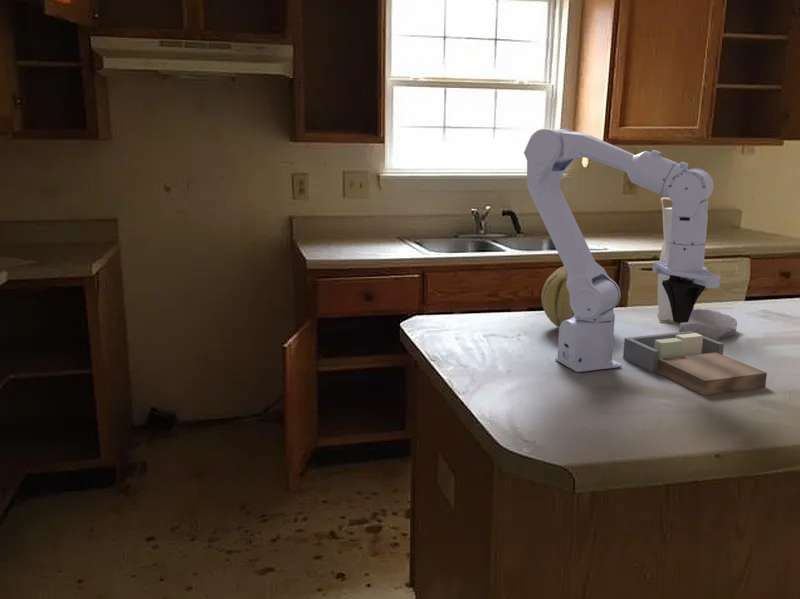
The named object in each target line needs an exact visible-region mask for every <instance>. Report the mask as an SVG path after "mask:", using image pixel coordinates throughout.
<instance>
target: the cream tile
mask: <svg viewBox="0 0 800 599" xmlns="http://www.w3.org/2000/svg"><path fill="white" fill-rule="evenodd" d="M675 338H677V339H680V340H682V341H683V346H682V356H689V355H698V354H702V343H703V336H702V335H700V334H697V333H691V334H680V335H676V336H675Z"/></svg>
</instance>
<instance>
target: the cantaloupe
mask: <svg viewBox="0 0 800 599" xmlns="http://www.w3.org/2000/svg"><path fill="white" fill-rule="evenodd" d="M567 277H568V273H567V271H566V269H565V266H564V265H563V266H561V267H559V268H557V269H556V270H554V271H553V273H551V274H550V276H548V277H547V279H546V281H545V282H544V285H543V288H542V290H541V304H542V309H543V311H544V314H545V315H546V317H547V318H548V319H549V320H550V322H551V323H552V324H553V325H554V326H555V327H557V328H559V327H560V325H561V323H562V322H563V321H564V320H568V319H571V318H572V317H574V312H573V311H572V309H571V306H570V294H569V291H568V289H567V287H566V284H567Z"/></svg>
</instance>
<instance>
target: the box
mask: <svg viewBox="0 0 800 599" xmlns="http://www.w3.org/2000/svg"><path fill="white" fill-rule="evenodd" d="M691 333H695V332H692V331H686V332H679V331H678V332H669V333H668V332H667V333H661V334H660V333H658V334H649V335H641V336H631V337H630V336H629V337H624V338H623V339H624V341H623V356H622V359H624V360H625V361H628V362H630V363H631V364H634V365H637V366H639V367H640V368H642V369H644V370H646V371H648V372H650V373H652V374H655V373H658V360H659V351H658V350H656V349H654V345H655V340H660V339H670V338H675V336H676V335H680V334H691ZM724 346H725V344H724V343H723V342H722V341H721V342H720V341H718V340H713V339H710V338H708V337H705V336H703V343H702V354H706V353H715V352H717V353H719V354H722V355H724V349H725V348H724Z"/></svg>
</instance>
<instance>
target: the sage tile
mask: <svg viewBox="0 0 800 599" xmlns="http://www.w3.org/2000/svg"><path fill="white" fill-rule="evenodd" d="M682 346H683V341H682V340H680V339H677V338H670V339H660V340H655V345H654V349H656V350H658V351H659V359H663V358H672V357H680V356H682Z"/></svg>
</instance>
